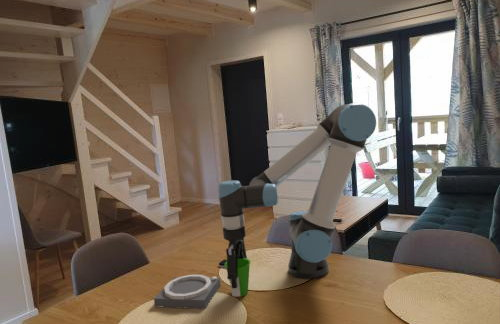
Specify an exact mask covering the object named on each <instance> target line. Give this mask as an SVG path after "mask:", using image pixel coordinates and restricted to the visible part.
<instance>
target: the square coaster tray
mask: <svg viewBox="0 0 500 324" xmlns="http://www.w3.org/2000/svg"><path fill="white" fill-rule="evenodd" d="M220 279H221V278H220V277H217V276H212V277H209V276H206V275H205V274H187V275H183V276H178V277H177V276H176V277H173V278H172V279H171V280H170V281H169V282H167V283H166V285H164V287H163V289H161V291H159V292H158V294H156V296H155V297H154V298H153V302H154V307H155V306H163V307H162V308H170V307H181V308H180V309H196V308H201V309H202V308H203V309H202V310H205V309H206V308H207V307H208V305H209V304H210V302H211V301H212V299H213V298H214V296H215V295H216V293H217V291H219V289H220V287H221V280H220ZM214 294H215V295H214ZM212 297H213V298H212ZM210 300H211V301H210ZM208 303H209V304H208ZM184 307H185V308H184ZM186 307H187V308H186Z"/></svg>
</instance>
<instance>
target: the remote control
mask: <svg viewBox="0 0 500 324" xmlns="http://www.w3.org/2000/svg"><path fill="white" fill-rule="evenodd" d="M235 255H236V254H235ZM226 262H227V257H226V258H224V259H223V260H221V261H220V262H219V263H218V267H219V268H223V267H224V268H223V269H226V267H225V266H224V265H225V263H226Z"/></svg>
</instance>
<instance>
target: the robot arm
mask: <svg viewBox="0 0 500 324" xmlns="http://www.w3.org/2000/svg"><path fill="white" fill-rule="evenodd" d="M376 127H377V118H376V115H375V113H374V111H373V110H372V109H371V108H370V107H369V106H367V105H366V104H363V103H358V102H352V103H349V104H348V103H347V104H346V103H345V104H342V105H339V106H337V107H336V108H334V110H332V111H331V112H330V113H329V115H327V116H326V117H325V118H323V120H322V121H321V122H318V124H317V127H316V129H315V130H314V131H313V132H312V133H310V134H309V135H307V136H306V137H305V138H304V139H303V140H301V141H300V142H299V143H298V144H296V145H295V146H293V148H292V149H290V150H289V151H287V152H286V153H285V154H283V156H282V157H280V158H279V159H277V161H275V162H274V163H273V164H272V165H270V166H269V167H268V168H267V169H265V170H264V171H262V172H261V174H259V175H258V176H255V177H254V178H252V179H251V180H250V182H249V185H242V184H241V182H240V181H239V180H234V179H232V180H225V181H222V182H220V183H219V185H218V198H219V205H220V206H219V208H220V213H221V216H220V220H221V222H222V223H221V225H222V232H223V233H222V235H223V236H222V237H223V239H225V240H226V241H228V248H226V250H225V252H226V258H227V269H226V271H227V272H228V273H227V272H226V273H227V277H226V278H227V280H229V279H230V280H229V282H230V281H231V284H230V289H231V296H232V297H242V296H241V295H240V286H239V277H238V269H237V268H238V259H244V258H246V259H248V257H247V252H246V245H245V237H246V227H245V215H244V209H252V208H253V209H254V208H269V207H273V206H276V205H278V203H279V200H278V189H277V188H278V187H279V186H280V185H282V184H283V183H284V182H285V181H287V180H288V179H289V178H290V177H292V176H293V175H295V174H296V173H297V172H299V170H300V169H302V168H303V167H304V166H306V165H307V164H308V163H309V162H311V161H312V160H314V159H315V158H316V157H317V156H318V155H320V154H321V153H322V152H323V151H324V150H325V149H327V148H328V147H329V150H328V154H327V155H326V160H325V162H324V165H323V167H322V171H321V173H320V176H319V179H318V182H317V185H316V188H315V191H314V194H313V196H312V199H311V202H310V205H309V208H308V210H299V211H294V212H291V213H290V214H289V216H288V224H289V234H290V245H291V253H290V256H289V262H288V273H289V275H291V276H292V275H293V277H294V276H295V278H297V279H304V280H305V279H306V280H307V279H309V280H311V279H318V278H322V277H324V276H325V275H327V274H328V272H329V271H330V270H329V268H330V267H329V262H328V260H327V258H328V257H329V256H330V254H331V252H332V249H333V241H332V238H333V234H334V232H335V229H336V225H335V223H334V221H333V220H334V219H335V214H336V212H337V209H338V207H339V204H340V201H341V198H342V195H343V192H344V190H345V187H346V184H347V181H348V178H349V176H350V173H351V169H352V167H353V164H354V162H355V159H356V156H357V154H358V153H359V152H361V151H363V150H364V148H365V144H366V142H367V140H368V139H369V138H370V137H371V136H372V135H373V133H374V132H375V131H376ZM235 254H236V255H235Z"/></svg>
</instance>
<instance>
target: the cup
mask: <svg viewBox="0 0 500 324" xmlns="http://www.w3.org/2000/svg"><path fill="white" fill-rule="evenodd" d="M250 265H251V260H250V259H248V258H247V259H246V258H244V259H238V268H237V269H238V277H239V286H240V295H241V296H240V297H244V296H246V295H247V294H248V292H249V282H250V279H249V278H250ZM224 266H225V267H226V268H225V269H226V270H227V262H226V263H225V265H224ZM226 273H227V274H228V272H226ZM228 281H229V284H230V285H231V281H230V279H228Z"/></svg>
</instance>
